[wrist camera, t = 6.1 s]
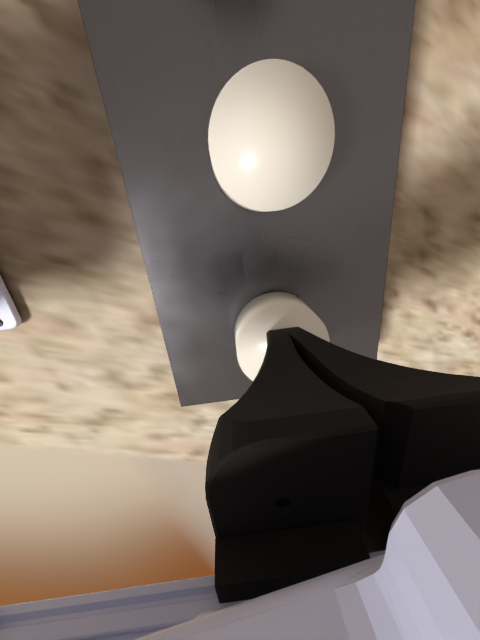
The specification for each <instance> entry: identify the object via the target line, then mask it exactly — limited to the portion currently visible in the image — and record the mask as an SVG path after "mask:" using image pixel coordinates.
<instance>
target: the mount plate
mask: <svg viewBox="0 0 480 640" xmlns="http://www.w3.org/2000/svg"><path fill="white" fill-rule="evenodd" d="M78 4H79V8H80V12H81V16H82V19H83V23H84V27H85V31H86V35H87V39H88V43H89V47H90V51H91V55H92V59H93V63H94V66H95V70H96V74H97V78H98V82H99V86H100V90H101V94H102V98H103V102H104V106H105V110H106V114H107V117H108V121H109V125H110V129H111V133H112V137H113V141H114V145H115V149H116V153H117V157H118V161H119V164H120V168H121V172H122V176H123V180H124V184H125V188H126V192H127V196H128V200H129V204H130V208H131V212H132V215H133V219H134V223H135V227H136V231H137V235H138V239H139V243H140V247H141V251H142V255H143V259H144V263H145V266H146V270H147V274H148V278H149V282H150V286H151V290H152V294H153V298H154V302H155V306H156V310H157V313H158V317H159V321H160V325H161V329H162V333H163V337H164V341H165V345H166V349H167V353H168V357H169V361H170V364H171V368H172V372H173V376H174V380H175V384H176V388H177V392H178V396H179V400H180V404H181V407H183V406H190V405H197V404H205V403H212V402H220V401H227V400H234V399H240V398H241V397H242V396H243V394H244V393H245V392H246V391H247V390H248V388H249V387H250V385H251V384H252V382H253V381H252V380H251V379H249V378H248V377H247V376H246V375H245V373H244V372H243V371H242V369H241V367H240V365H239V363H238V359H237V352H236V342H235V324H236V320H237V317H238V315H239V313H240V312H241V310H242V309H243V308H244V307H245V305H246V304H247V303H249V302H250V301H251V300H253V299H254V298H256V297H258V296H260V295H263V294H266V293H270V292H285V293H289V294H292V295H294V296H296V297H298V298H300V299H301V300H302V301H303V302H305V303H306V304H307V306H308V307H309V308H310V309H311V310H312V311H313V312H314V313H315V314H316V315H317V316H318V317H319V318H320V319H321V321H322V322H323V323H324V325H325V327H326V328H327V331H328V334H329V341H330V343H332V344H334V345H337V346H339V347H341V348H344V349H346V350H349V351H351V352H354V353H357V354H360V355H363V356H366V357H369V358H372V359H376V360H377V351H378V342H379V332H380V323H381V314H382V305H383V295H384V286H385V277H386V267H387V258H388V249H389V240H390V230H391V221H392V212H393V202H394V193H395V184H396V175H397V165H398V156H399V147H400V137H401V128H402V119H403V110H404V100H405V91H406V82H407V72H408V63H409V54H410V45H411V35H412V26H413V17H414V7H415V0H78ZM265 59H282V60H287V61H290V62H293V63H295V64H297V65H299V66H301V67H303V68H304V69H305V70H307V71H308V72H309V73H311V74H312V75H313V77H314V78H315V79H316V80H317V81H318V82H319V84H320V85H321V86H322V88H323V90H324V91H325V93H326V95H327V97H328V100H329V102H330V105H331V109H332V113H333V118H334V125H335V139H334V148H333V153H332V157H331V160H330V163H329V166H328V168H327V171H326V173H325V174H324V176H323V178H322V180H321V181H320V183H319V184H318V186H317V187H316V188H315V189H314V190H313V191H312V193H311V194H309V195H308V196H307V197H306V198H305V199H304V200H302V201H301V202H299V203H298V204H296V205H294V206H292V207H289V208H286V209H283V210H278V211H268V212H256V211H250V210H247V209H244V208H242V207H240V206H238V205H237V204H235V203H234V202H233V201H231V200H230V199H229V198H228V197H227V196H226V195H225V193H224V192H223V191H222V189H221V188H220V186H219V184H218V182H217V180H216V178H215V175H214V172H213V168H212V163H211V158H210V153H209V144H208V129H209V122H210V117H211V113H212V109H213V107H214V104H215V102H216V99H217V97H218V96H219V94H220V92H221V90H222V89H223V87H224V86H225V85H226V83H227V82H228V81H229V80H230V79H231V78H232V77H233V75H235V74H236V73H237V72H238V71H240V70H241V69H242V68H244V67H246V66H248V65H249V64H252V63H254V62H257V61H260V60H265Z"/></svg>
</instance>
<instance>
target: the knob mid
mask: <svg viewBox="0 0 480 640" xmlns="http://www.w3.org/2000/svg"><path fill="white" fill-rule="evenodd" d="M334 139H335V125H334V118H333V113H332V109H331V105H330V102H329V100H328V97H327V95H326V93H325V91H324V90H323V88H322V86H321V85H320V84H319V82H318V81H317V80H316V79H315V78H314V77H313V75H312V74H311V73H309V72H308V71H307V70H305V69H304V68H303V67H301V66H299V65H297V64H295V63H293V62H290V61H287V60H282V59H265V60H260V61H257V62H254V63H252V64H249V65H248V66H246V67H244V68H242V69H241V70H240V71H238V72H237V73H236V74H235V75H233V77H232V78H231V79H230V80H229V81H228V82H227V83H226V85H225V86H224V87H223V89H222V90H221V92H220V94H219V96H218V97H217V99H216V102H215V104H214V107H213V109H212V113H211V117H210V122H209V129H208V144H209V153H210V158H211V163H212V168H213V172H214V175H215V178H216V180H217V182H218V184H219V186H220V188H221V189H222V191H223V192H224V193H225V195H226V196H227V197H228V198H229V199H230V200H231V201H233V202H234V203H235V204H237V205H238V206H240V207H242V208H244V209H247V210H250V211H256V212H268V211H278V210H283V209H286V208H289V207H292V206H294V205H296V204H298V203H299V202H301V201H302V200H304V199H305V198H306V197H307V196H308V195H309V194H311V193H312V191H313V190H314V189H315V188H316V187H317V186H318V184H319V183H320V181H321V180H322V178H323V176H324V174H325V173H326V171H327V168H328V166H329V163H330V160H331V157H332V153H333V148H334Z"/></svg>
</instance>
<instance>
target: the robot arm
mask: <svg viewBox="0 0 480 640" xmlns="http://www.w3.org/2000/svg"><path fill="white" fill-rule="evenodd" d="M0 319H1V320H2V321H3V323H1V322H0V330H7V329H13V328H16V327H17V326H19V325H20V324H21V317H20V315H19V313H18V311H17V309H16V307H15V305H14V303H13V300H12V298H11V296H10V294H9V292H8V290H7V288H6V286H5V284H4V282H3V280H2V278H1V275H0ZM266 336H267V349H266V354H265V357H264V360H263V363H262V365H261V368H260V370H259V372H258V374H257V376H256V377H255V379H254V381H253V382H252V384H251V385H250V387H249V388H248V390H247V391H246V392H245V393H244V394H243V396H242V397H241V398H240V399H239V400H238V402H237V403H236V404H234V405H233V406H232V407H231V408H230V409H229V410H227V411H226V412H225V413H224V414H223V415H221V416H220V418H219V420H218V422H217V425H216V428H215V431H214V435H213V438H212V442H211V445H210V450H209V455H208V460H207V468H206V483H205V491H206V501H207V505H208V509H209V513H210V517H211V521H212V525H213V529H214V533H215V536H216V540H215V542H216V543H215V575H212V576H205V577H198V578H191V579H185V580H178V581H171V582H164V583H157V584H150V585H143V586H136V587H129V588H123V589H116V590H109V591H102V592H95V593H88V594H82V595H74V596H68V597H60V598H53V599H47V600H40V601H34V602H26V603H19V604H12V605H5V606H0V640H480V377H474V376H464V375H454V374H445V373H438V372H432V371H426V370H419V369H414V368H409V367H404V366H400V365H395V364H391V363H387V362H383V361H379V360H376V359H372V358H369V357H366V356H363V355H360V354H357V353H354V352H351V351H349V350H346V349H344V348H341V347H339V346H337V345H334V344H332V343H330V342H328V341H326V340H324V339H322V338H320V337H318V336H316V335H314V334H312V333H310V332H308V331H306V330H304V329H302V328H300V327H291V328H283V329H276V330H269V331H268V332H267V333H266Z"/></svg>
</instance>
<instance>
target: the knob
mask: <svg viewBox="0 0 480 640" xmlns="http://www.w3.org/2000/svg"><path fill="white" fill-rule="evenodd" d="M291 327H300V328H302V329H304V330H306V331H308V332H310V333H312V334H314V335H316V336H318V337H320V338H322V339H324V340H326V341H328V342H330V341H329V334H328V331H327V328H326V327H325V325H324V323H323V322H322V321H321V319H320V318H319V317H318V316H317V315H316V314H315V313H314V312H313V311H312V310H311V309H310V308H309V307H308V306H307V304H306V303H305V302H303V301H302V300H301V299H300V298H298V297H296V296H294V295H292V294H289V293H285V292H270V293H266V294H263V295H260V296H258V297H256V298H254V299H253V300H251V301H250V302H249V303H247V304H246V305H245V307H244V308H243V309H242V310H241V312H240V313H239V315H238V317H237V320H236V324H235V342H236V352H237V359H238V363H239V365H240V367H241V369H242V371H243V372H244V373H245V375H246V376H247V377H248V378H249V379H251V380H252V381H254V379H255V377H256V376H257V374H258V372H259V370H260V368H261V365H262V363H263V360H264V357H265V354H266V349H267V336H266V333H267V332H268V331H269V330H276V329H283V328H291Z"/></svg>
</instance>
